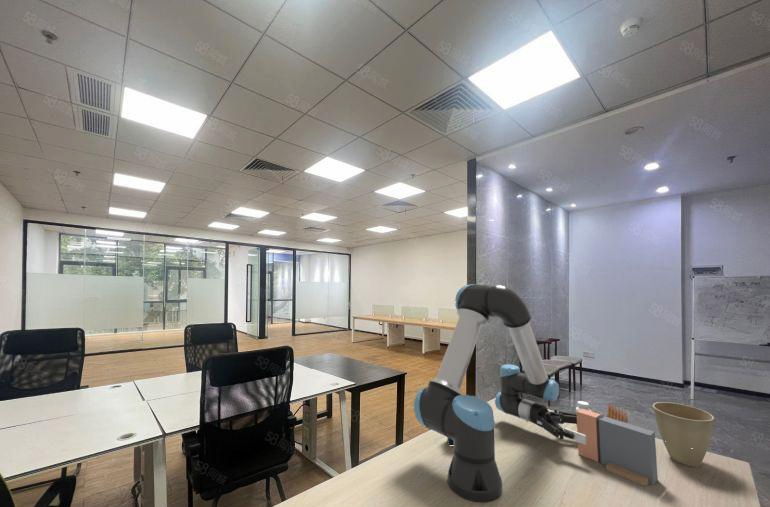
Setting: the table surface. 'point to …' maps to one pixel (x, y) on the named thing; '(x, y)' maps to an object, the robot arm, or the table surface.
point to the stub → (588, 433)
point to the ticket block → (627, 450)
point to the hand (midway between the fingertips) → (594, 434)
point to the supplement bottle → (582, 406)
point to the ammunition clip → (616, 414)
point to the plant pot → (684, 431)
